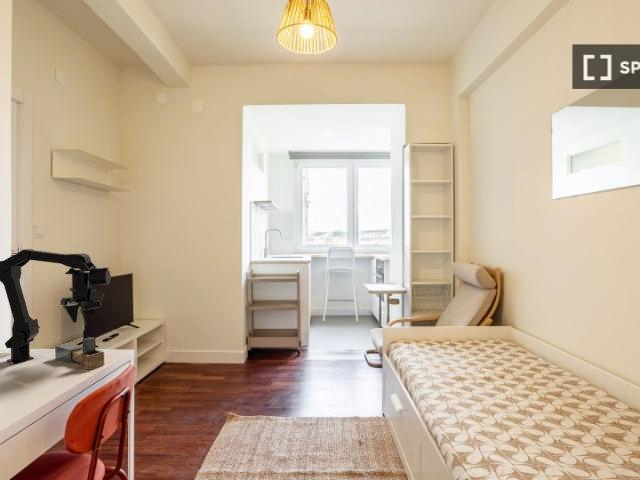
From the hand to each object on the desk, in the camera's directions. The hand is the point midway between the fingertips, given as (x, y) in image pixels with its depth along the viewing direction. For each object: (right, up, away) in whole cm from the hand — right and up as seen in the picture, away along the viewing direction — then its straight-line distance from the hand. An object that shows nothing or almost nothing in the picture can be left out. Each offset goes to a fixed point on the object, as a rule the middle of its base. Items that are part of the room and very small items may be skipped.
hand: (81, 323), depth 146 cm
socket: (+11, -13, -10) cm, 20 cm away
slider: (+5, -12, -7) cm, 15 cm away
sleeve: (-3, -13, -3) cm, 14 cm away
